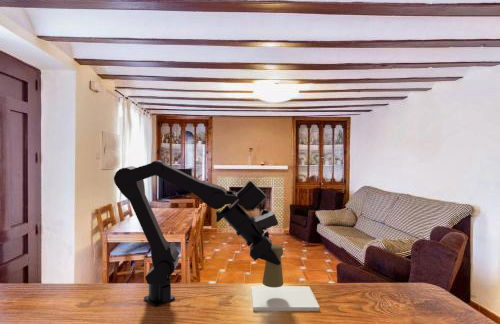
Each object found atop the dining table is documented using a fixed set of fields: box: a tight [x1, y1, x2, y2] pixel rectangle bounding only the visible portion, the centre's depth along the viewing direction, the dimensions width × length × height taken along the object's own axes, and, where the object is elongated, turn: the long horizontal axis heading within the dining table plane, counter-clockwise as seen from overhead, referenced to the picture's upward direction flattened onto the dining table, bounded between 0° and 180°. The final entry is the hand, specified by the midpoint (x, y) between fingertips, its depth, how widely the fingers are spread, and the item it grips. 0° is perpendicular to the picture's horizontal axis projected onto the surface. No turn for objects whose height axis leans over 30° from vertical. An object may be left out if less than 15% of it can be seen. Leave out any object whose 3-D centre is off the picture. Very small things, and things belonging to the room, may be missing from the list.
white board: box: [250, 285, 321, 312], centre depth 96 cm, size 18×13×1 cm
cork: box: [262, 243, 284, 288], centre depth 95 cm, size 6×6×11 cm
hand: (278, 260), depth 95 cm, fingers closed on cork, 5 cm apart
